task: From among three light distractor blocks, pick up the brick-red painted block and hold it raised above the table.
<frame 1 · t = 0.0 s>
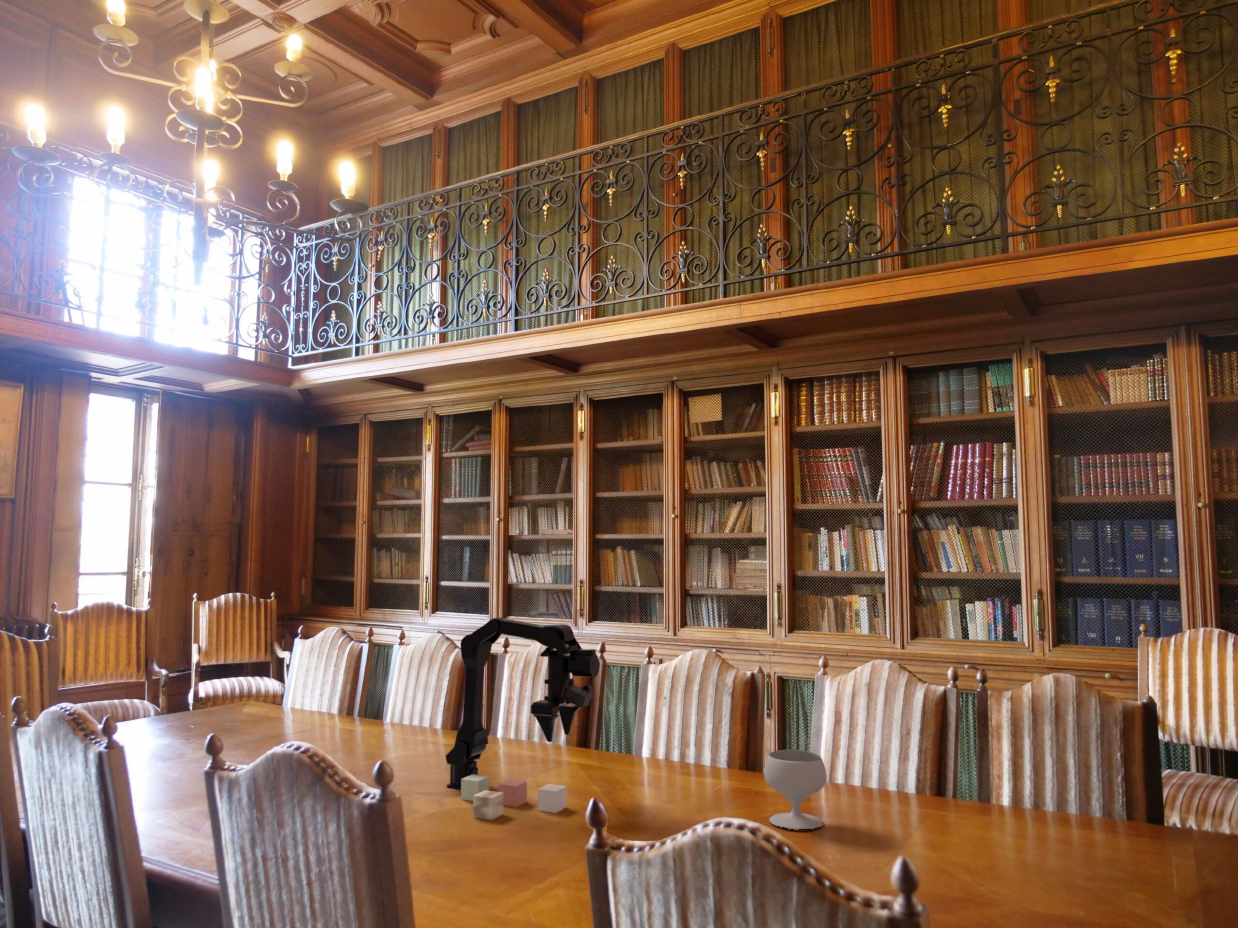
hand: (558, 738, 211), 15 cm above the table, fingers open, 9 cm apart
sage green block: (474, 798, 210), on the table
ash block: (488, 816, 196), on the table
chalice: (796, 824, 190), on the table
pale grey block: (552, 808, 201), on the table
brick-red block: (512, 803, 206), on the table
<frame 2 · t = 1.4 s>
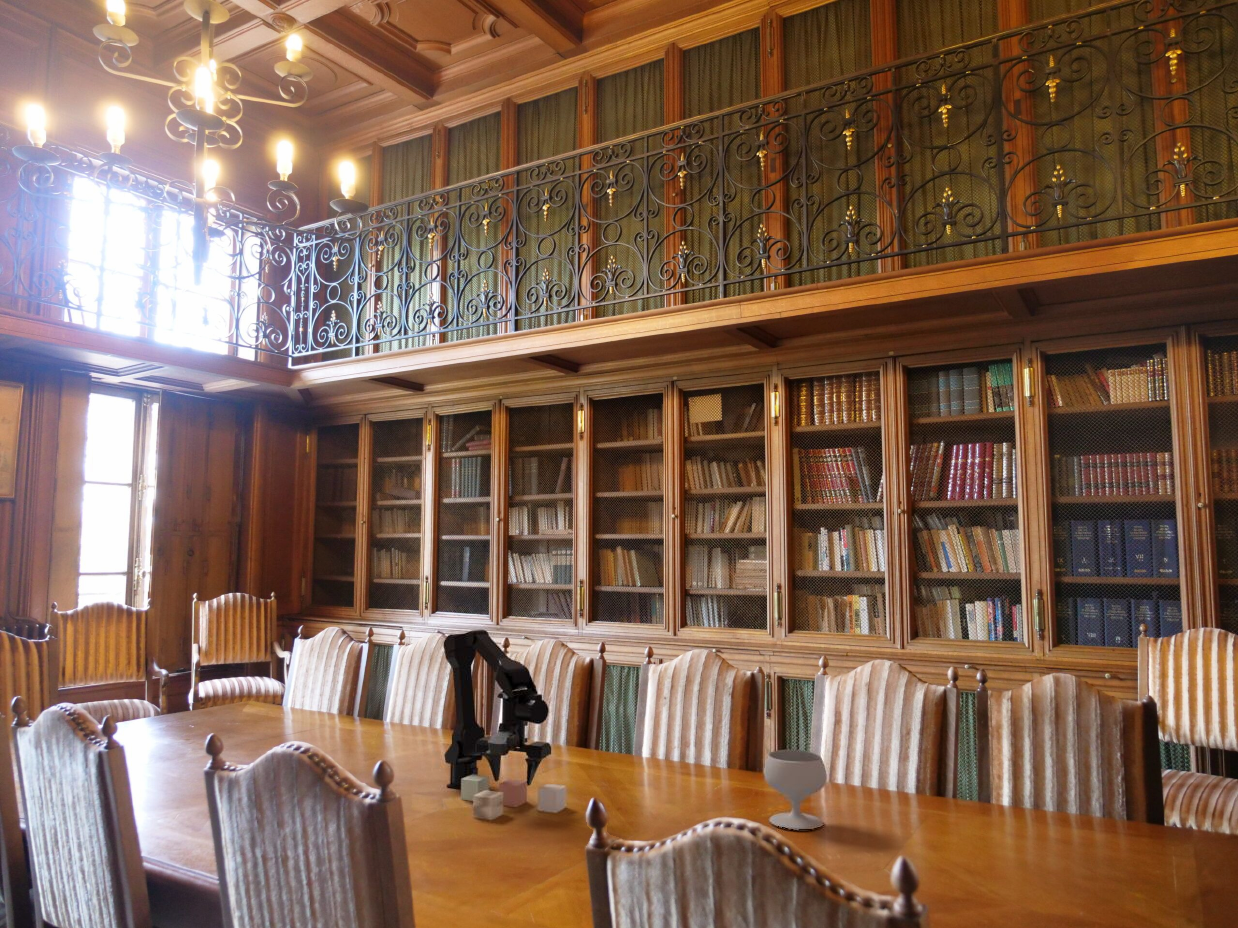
hand: (512, 782, 206), 5 cm above the table, fingers open, 9 cm apart
nothing on the table moved.
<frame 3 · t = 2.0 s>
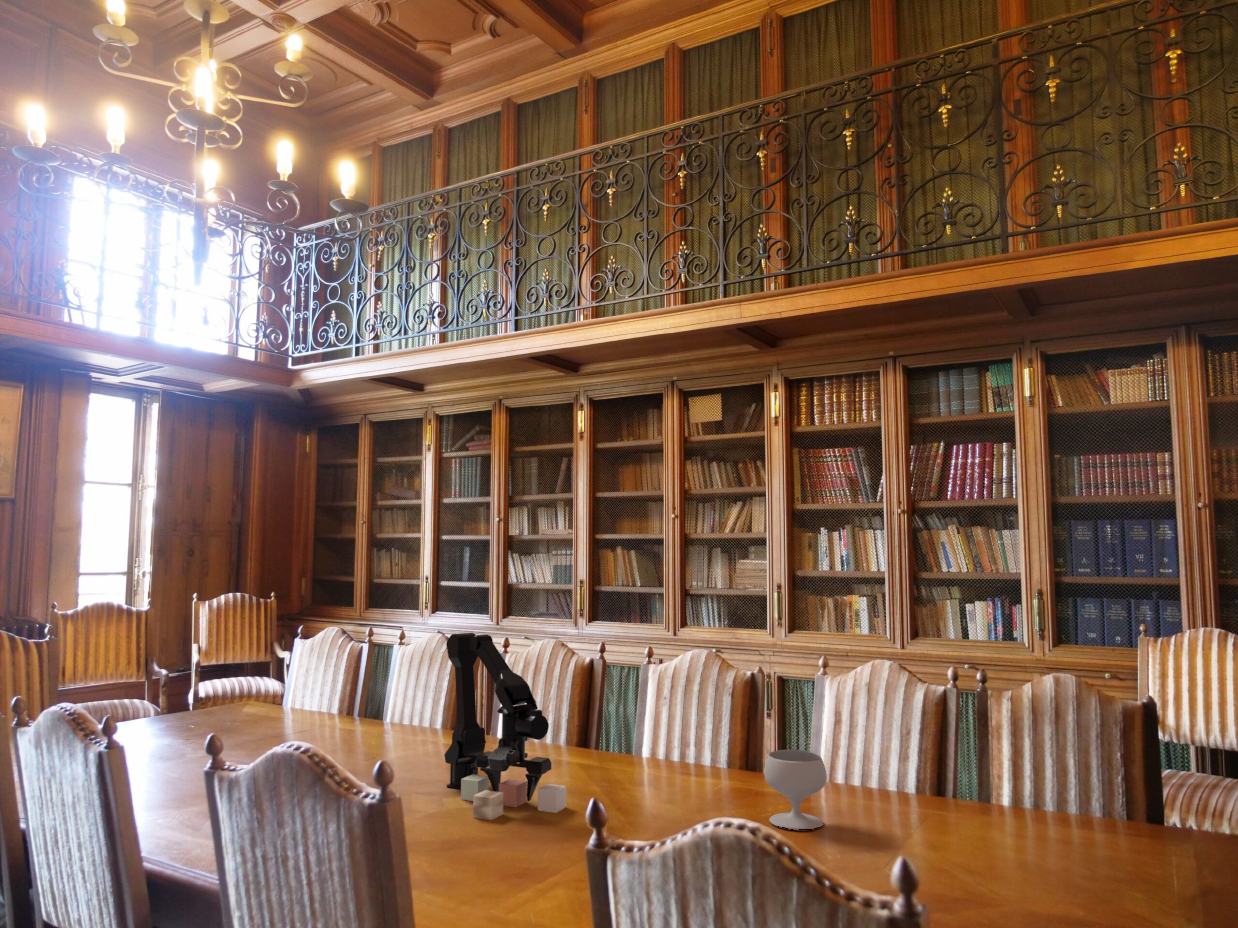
hand: (512, 798, 206), 1 cm above the table, fingers open, 9 cm apart
nothing on the table moved.
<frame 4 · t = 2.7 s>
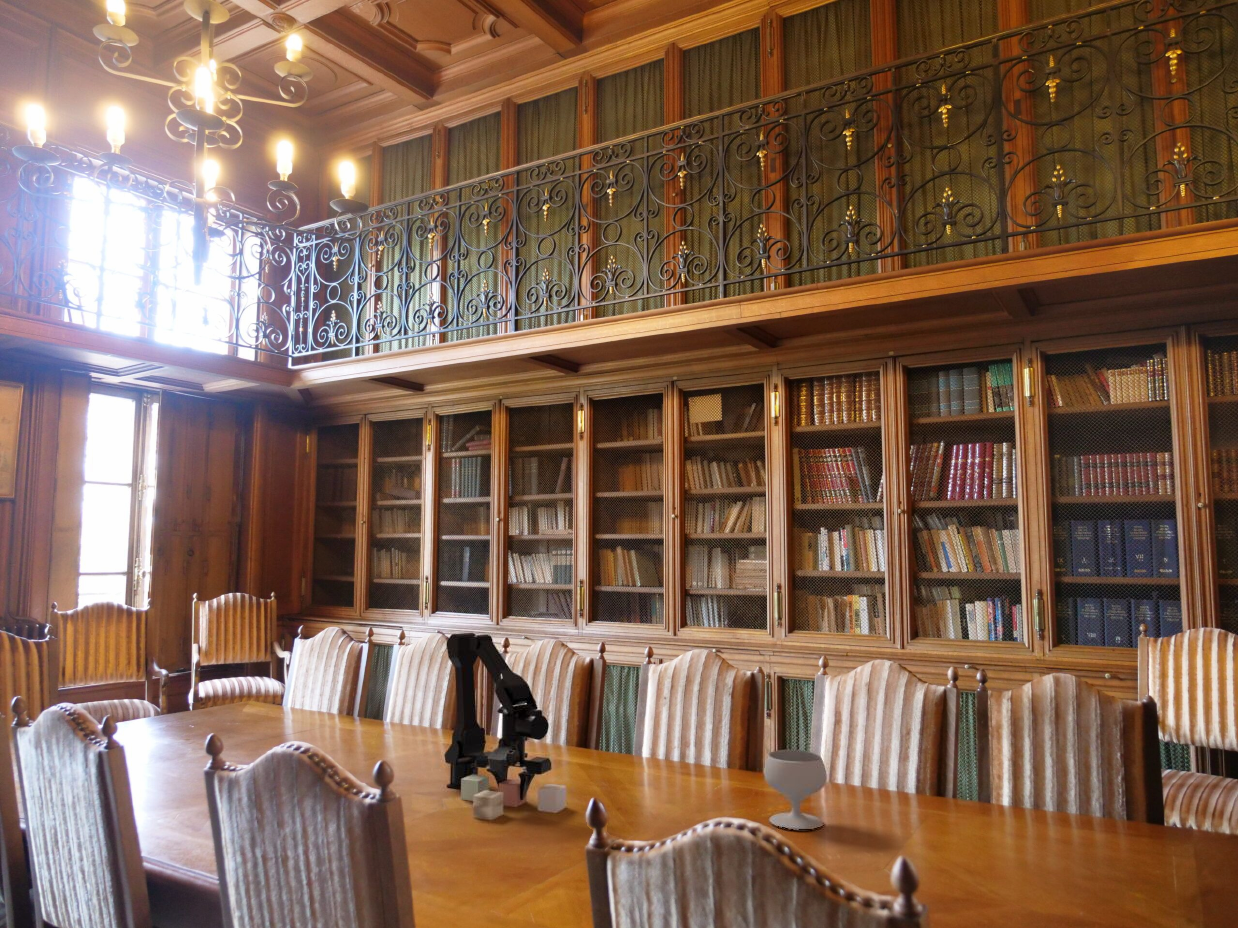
hand: (512, 798, 206), 1 cm above the table, fingers closed on brick-red block, 5 cm apart
brick-red block: (512, 802, 206), on the table, touching gripper
everything else where it was.
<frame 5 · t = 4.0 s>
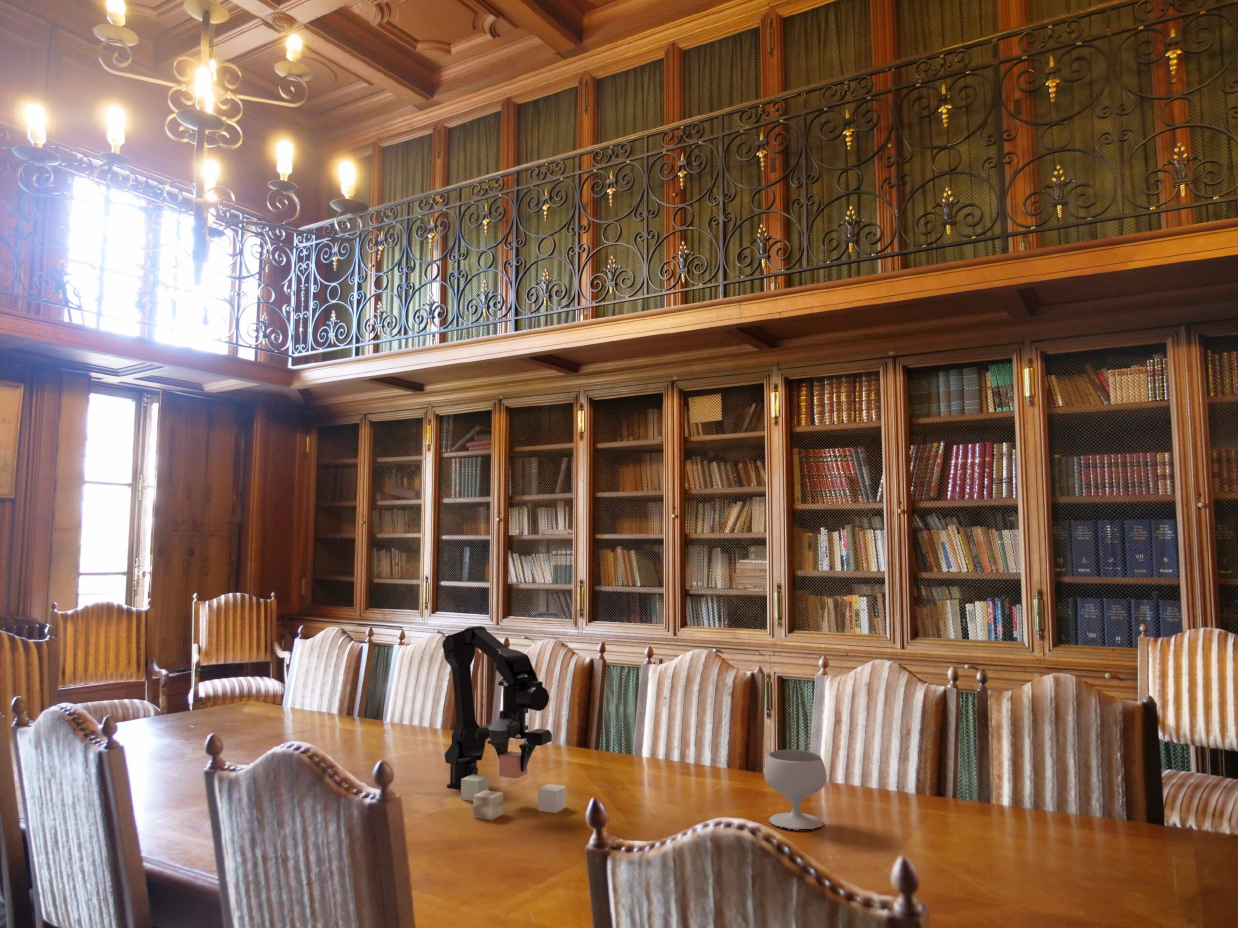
hand: (513, 770, 206), 8 cm above the table, fingers closed on brick-red block, 5 cm apart
brick-red block: (513, 774, 206), point 7 cm above the table, touching gripper
everything else where it was.
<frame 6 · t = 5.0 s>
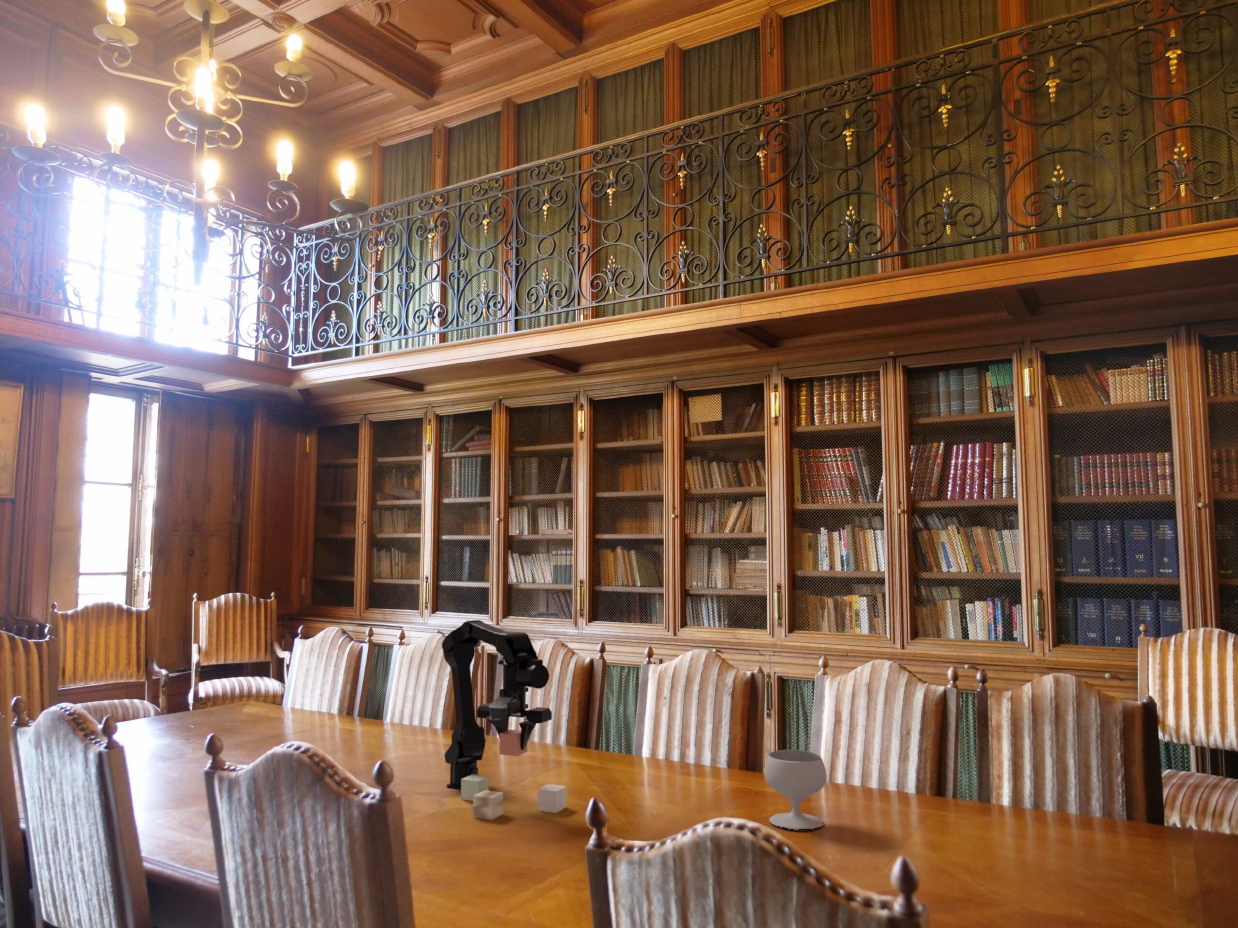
hand: (513, 748, 207), 13 cm above the table, fingers closed on brick-red block, 5 cm apart
brick-red block: (513, 752, 207), point 12 cm above the table, touching gripper
everything else where it was.
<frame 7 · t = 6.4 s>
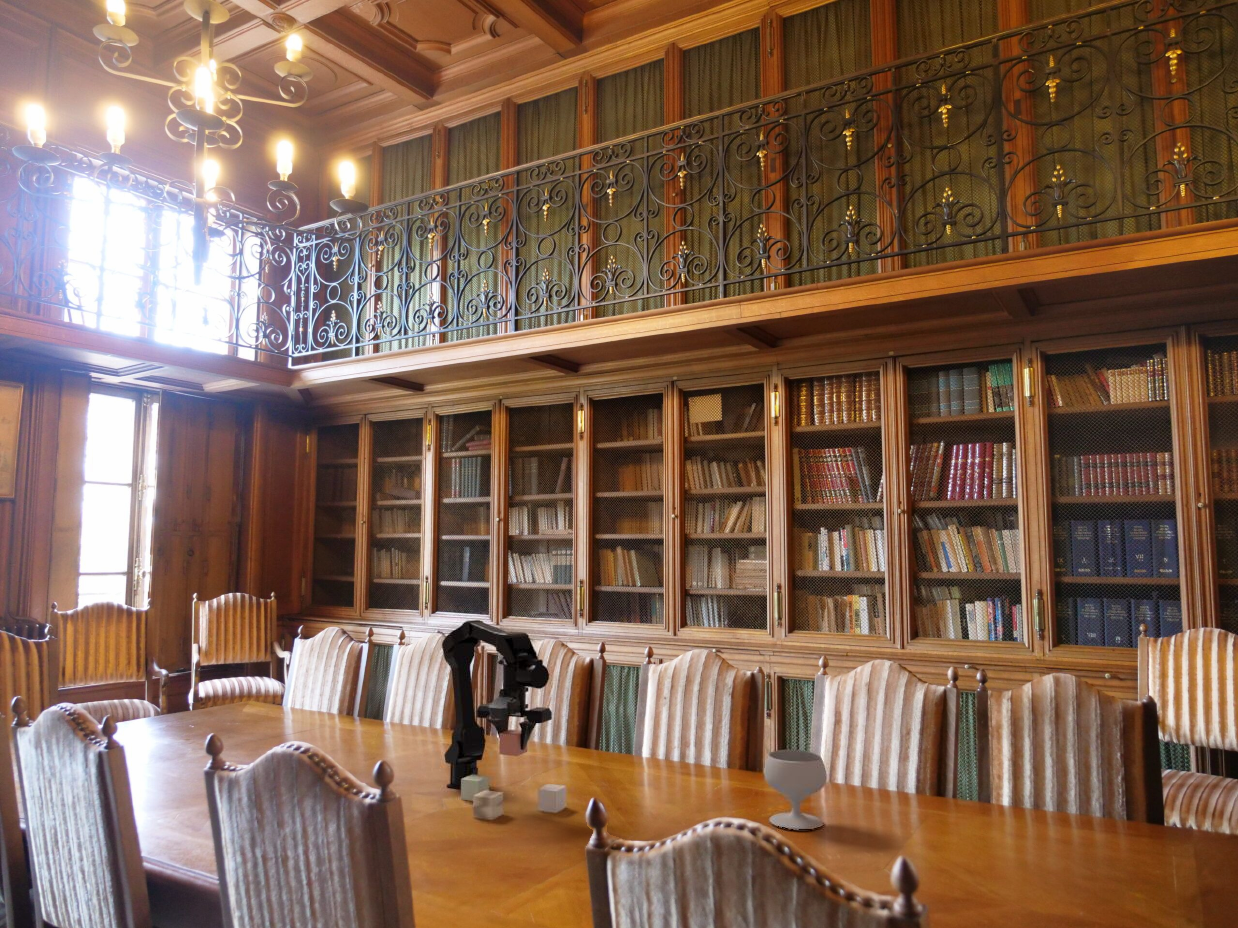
hand: (513, 748, 207), 13 cm above the table, fingers closed on brick-red block, 5 cm apart
brick-red block: (513, 752, 207), point 12 cm above the table, touching gripper
everything else where it was.
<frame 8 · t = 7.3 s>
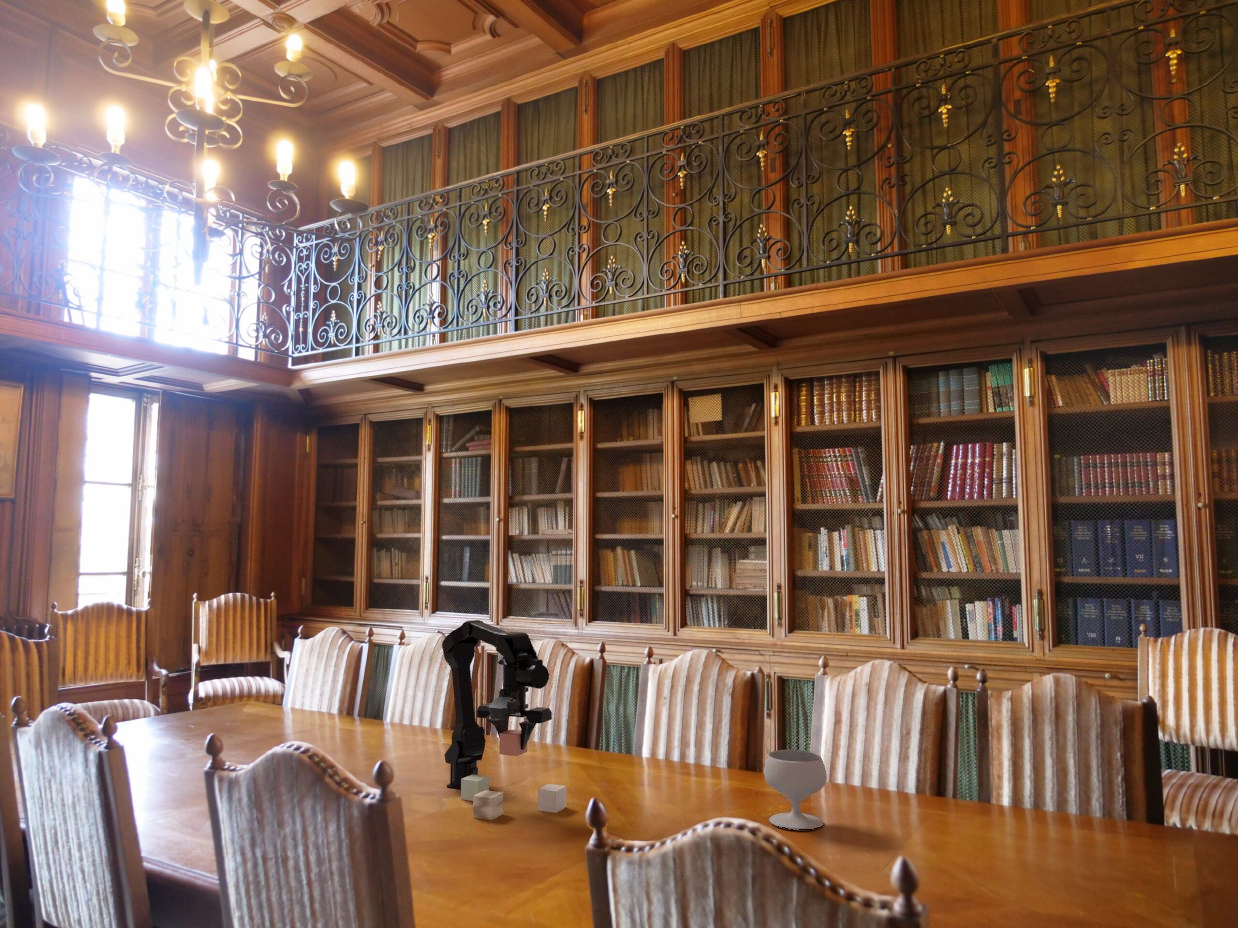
hand: (513, 748, 207), 13 cm above the table, fingers closed on brick-red block, 5 cm apart
brick-red block: (513, 752, 207), point 12 cm above the table, touching gripper
everything else where it was.
at the end: the gripper is holding brick-red block; brick-red block point 11.9 cm above the table; ash block moved 0.1 cm from its start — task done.
